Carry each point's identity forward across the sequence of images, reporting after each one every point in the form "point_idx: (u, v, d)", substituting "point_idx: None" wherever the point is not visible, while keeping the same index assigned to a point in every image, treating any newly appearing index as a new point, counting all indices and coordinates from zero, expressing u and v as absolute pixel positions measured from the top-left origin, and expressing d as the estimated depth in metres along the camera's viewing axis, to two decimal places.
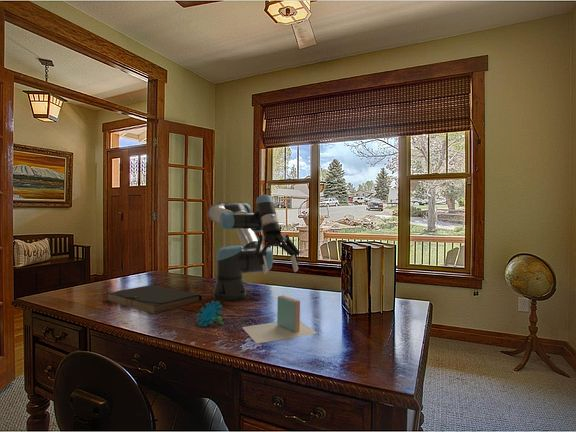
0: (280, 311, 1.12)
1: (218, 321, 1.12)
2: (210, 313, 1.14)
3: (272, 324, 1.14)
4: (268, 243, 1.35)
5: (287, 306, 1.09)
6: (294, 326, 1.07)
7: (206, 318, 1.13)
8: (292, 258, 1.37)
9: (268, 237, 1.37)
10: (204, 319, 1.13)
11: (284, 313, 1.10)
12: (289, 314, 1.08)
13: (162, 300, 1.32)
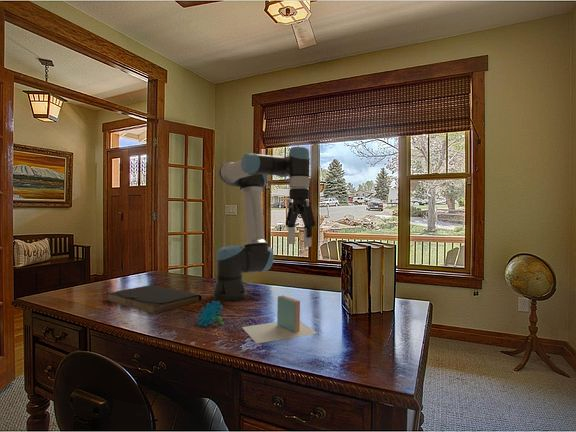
0: (280, 311, 1.12)
1: (218, 321, 1.12)
2: (210, 313, 1.14)
3: (272, 324, 1.14)
4: None
5: (287, 306, 1.09)
6: (294, 326, 1.07)
7: (206, 318, 1.13)
8: (292, 230, 1.29)
9: None
10: (204, 319, 1.13)
11: (284, 313, 1.10)
12: (289, 314, 1.08)
13: (162, 300, 1.32)
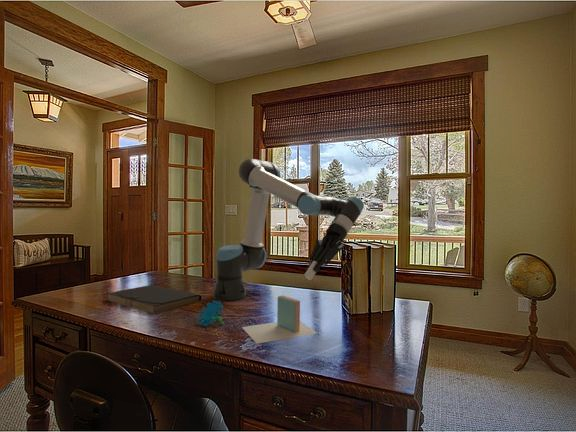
0: (280, 311, 1.12)
1: (218, 321, 1.12)
2: (211, 313, 1.14)
3: (272, 324, 1.14)
4: None
5: (287, 306, 1.09)
6: (294, 326, 1.07)
7: (207, 318, 1.13)
8: None
9: None
10: (205, 319, 1.13)
11: (284, 313, 1.10)
12: (289, 314, 1.08)
13: (162, 300, 1.32)
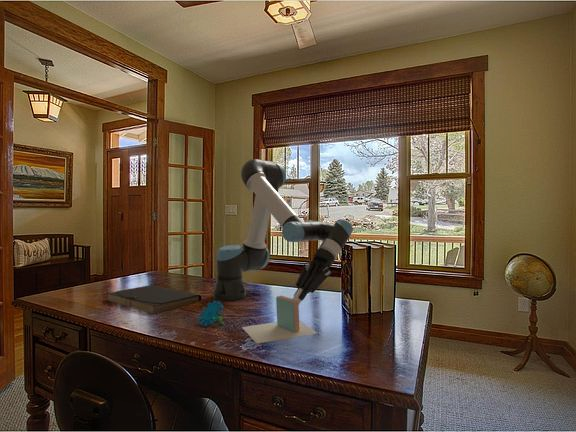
0: (279, 311, 1.11)
1: (219, 321, 1.12)
2: (211, 313, 1.14)
3: (272, 324, 1.14)
4: None
5: (286, 306, 1.09)
6: (294, 326, 1.07)
7: (207, 318, 1.13)
8: None
9: None
10: (205, 319, 1.13)
11: (283, 313, 1.10)
12: (288, 314, 1.08)
13: (162, 300, 1.32)
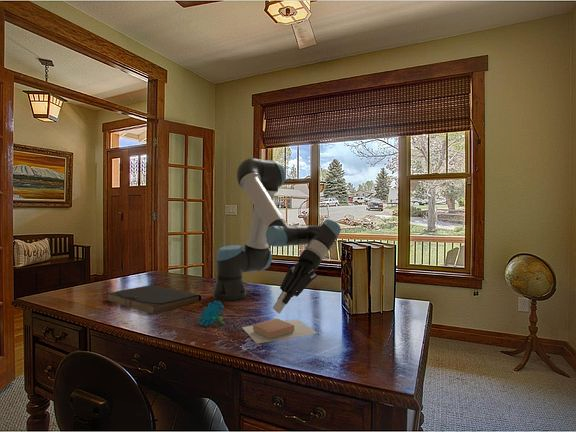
0: None
1: (219, 321, 1.12)
2: (211, 313, 1.14)
3: None
4: None
5: None
6: (289, 333, 1.05)
7: (207, 318, 1.13)
8: None
9: None
10: (205, 319, 1.13)
11: None
12: None
13: (161, 300, 1.32)
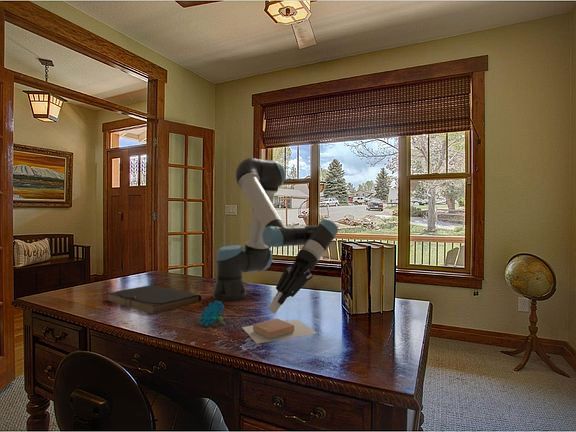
0: None
1: (219, 321, 1.12)
2: (212, 313, 1.14)
3: None
4: None
5: None
6: (289, 333, 1.05)
7: (208, 318, 1.13)
8: None
9: None
10: (206, 318, 1.14)
11: None
12: None
13: (161, 300, 1.32)
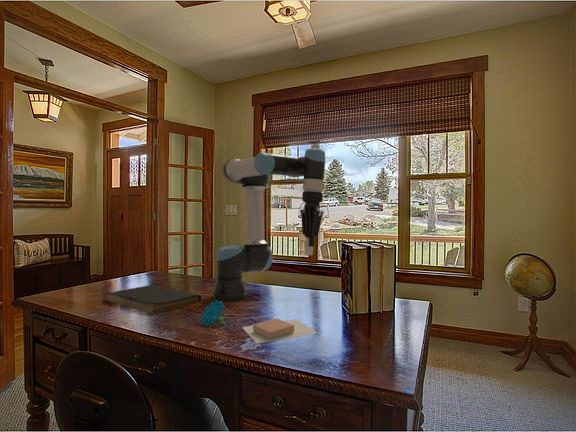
0: None
1: (219, 321, 1.12)
2: (212, 313, 1.14)
3: None
4: None
5: None
6: (289, 333, 1.05)
7: (208, 317, 1.14)
8: None
9: None
10: (206, 318, 1.14)
11: None
12: None
13: (161, 300, 1.32)
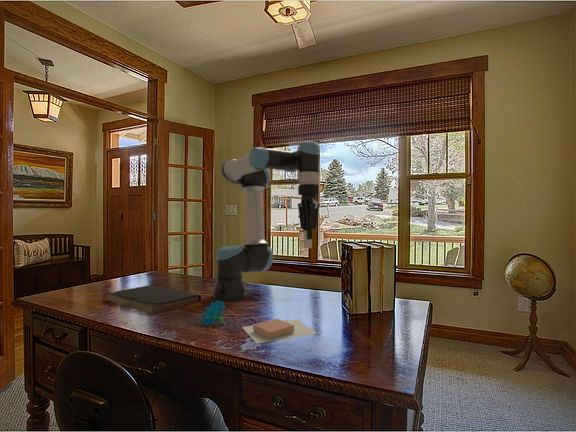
0: None
1: (220, 321, 1.12)
2: (213, 313, 1.14)
3: None
4: None
5: None
6: (289, 333, 1.05)
7: (209, 317, 1.14)
8: None
9: None
10: (207, 318, 1.14)
11: None
12: None
13: (161, 300, 1.32)
